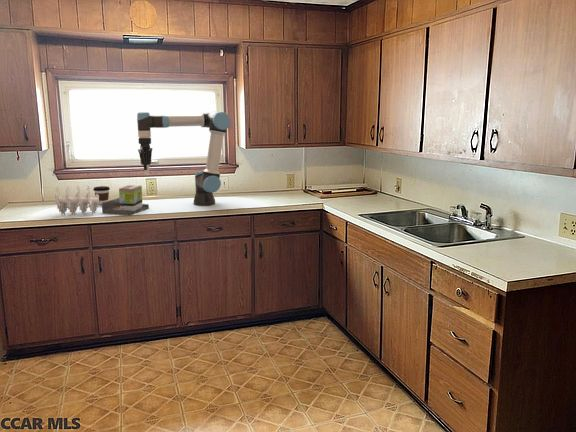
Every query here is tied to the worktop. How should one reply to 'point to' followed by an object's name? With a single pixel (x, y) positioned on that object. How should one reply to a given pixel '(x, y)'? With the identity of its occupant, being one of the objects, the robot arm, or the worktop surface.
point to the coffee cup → (102, 193)
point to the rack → (114, 208)
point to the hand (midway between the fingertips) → (146, 175)
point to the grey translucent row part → (76, 202)
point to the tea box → (130, 197)
